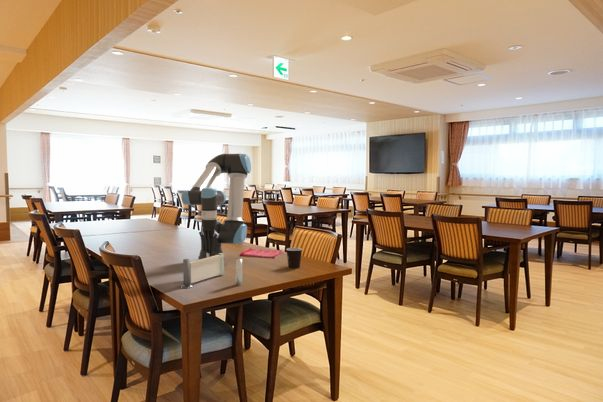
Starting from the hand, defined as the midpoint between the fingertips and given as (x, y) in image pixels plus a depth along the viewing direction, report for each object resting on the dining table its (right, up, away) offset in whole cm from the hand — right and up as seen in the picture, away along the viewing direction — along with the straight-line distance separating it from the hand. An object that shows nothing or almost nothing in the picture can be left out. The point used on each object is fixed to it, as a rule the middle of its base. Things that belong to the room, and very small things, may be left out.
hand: (209, 265), depth 199 cm
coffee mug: (+42, -4, +22) cm, 48 cm away
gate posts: (+4, -7, -15) cm, 17 cm away
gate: (-1, -5, -8) cm, 10 cm away
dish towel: (+21, -3, +55) cm, 59 cm away
